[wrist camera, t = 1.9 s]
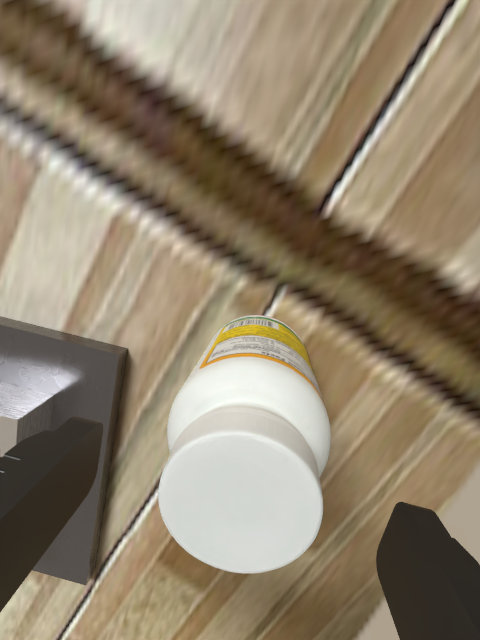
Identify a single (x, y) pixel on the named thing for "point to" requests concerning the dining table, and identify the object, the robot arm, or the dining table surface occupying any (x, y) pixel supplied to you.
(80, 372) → the mount
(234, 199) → the dining table surface
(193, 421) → the supplement bottle
